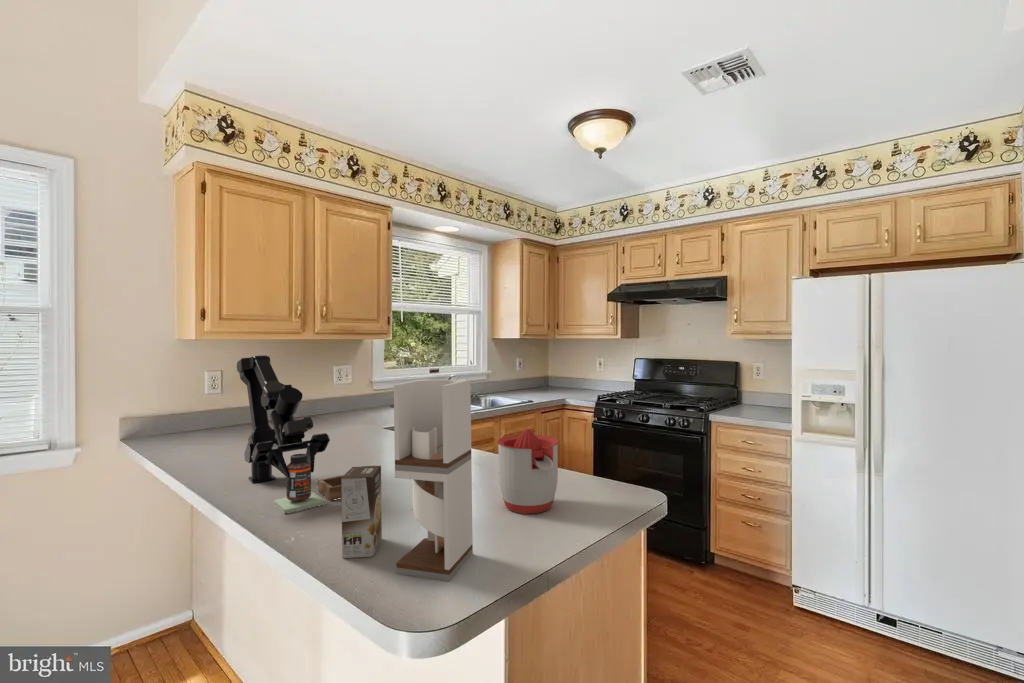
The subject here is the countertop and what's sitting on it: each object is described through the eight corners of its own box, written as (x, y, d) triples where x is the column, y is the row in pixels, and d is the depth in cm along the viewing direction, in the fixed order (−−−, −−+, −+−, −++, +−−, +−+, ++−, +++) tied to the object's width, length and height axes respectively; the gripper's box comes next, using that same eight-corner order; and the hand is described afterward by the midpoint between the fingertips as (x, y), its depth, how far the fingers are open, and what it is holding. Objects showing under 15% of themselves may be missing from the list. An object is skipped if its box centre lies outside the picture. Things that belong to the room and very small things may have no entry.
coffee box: (374, 557, 98) (373, 477, 97) (341, 559, 97) (340, 478, 97) (382, 538, 107) (381, 464, 106) (352, 539, 106) (351, 465, 106)
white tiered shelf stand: (424, 548, 102) (422, 379, 101) (472, 554, 98) (470, 380, 98) (396, 573, 91) (393, 384, 90) (449, 581, 88) (446, 385, 87)
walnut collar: (317, 492, 139) (317, 480, 139) (352, 485, 145) (352, 473, 145) (330, 501, 131) (330, 488, 131) (366, 493, 138) (365, 480, 138)
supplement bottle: (295, 503, 125) (294, 459, 125) (281, 499, 128) (281, 456, 128) (316, 496, 130) (315, 454, 130) (302, 492, 133) (301, 451, 133)
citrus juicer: (519, 525, 113) (518, 438, 113) (488, 502, 129) (487, 426, 129) (575, 513, 121) (574, 431, 120) (539, 493, 136) (538, 421, 136)
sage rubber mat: (274, 503, 130) (274, 500, 130) (313, 495, 136) (312, 492, 136) (284, 514, 122) (284, 510, 122) (325, 504, 128) (325, 501, 128)
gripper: (254, 412, 125) (269, 463, 118) (326, 404, 138) (344, 450, 130) (246, 437, 131) (259, 488, 123) (316, 428, 144) (332, 473, 136)
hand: (300, 474), depth 128 cm, fingers closed on supplement bottle, 6 cm apart
